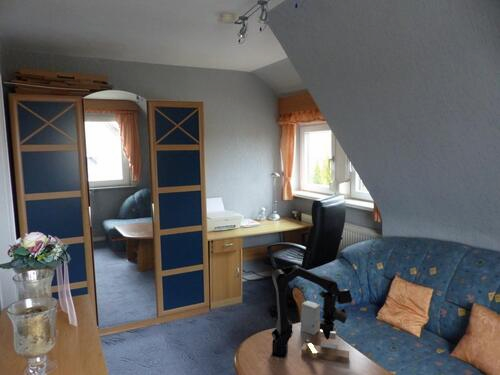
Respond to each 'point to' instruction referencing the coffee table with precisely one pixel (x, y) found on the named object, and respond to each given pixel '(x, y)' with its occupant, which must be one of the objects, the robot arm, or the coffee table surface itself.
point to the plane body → (327, 354)
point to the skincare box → (310, 317)
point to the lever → (311, 348)
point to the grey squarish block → (332, 333)
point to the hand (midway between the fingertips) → (328, 335)
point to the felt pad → (328, 345)
